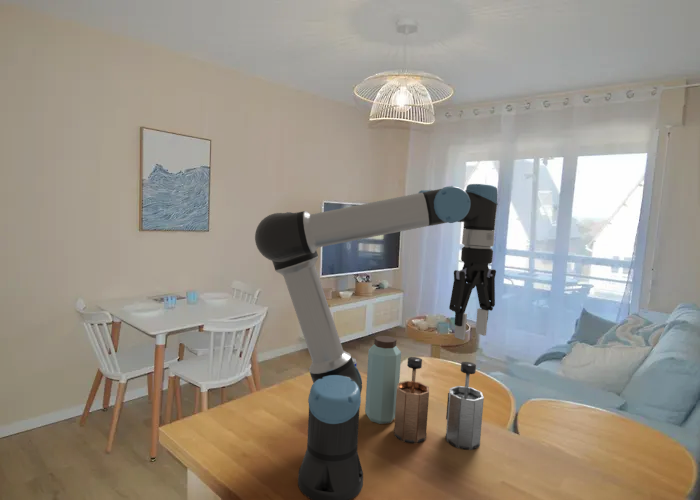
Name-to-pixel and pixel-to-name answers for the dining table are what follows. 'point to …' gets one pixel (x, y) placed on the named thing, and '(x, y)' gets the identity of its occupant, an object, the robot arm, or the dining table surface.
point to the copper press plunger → (414, 373)
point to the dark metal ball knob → (467, 378)
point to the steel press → (464, 418)
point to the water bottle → (382, 379)
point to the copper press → (411, 413)
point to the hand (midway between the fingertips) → (470, 336)
